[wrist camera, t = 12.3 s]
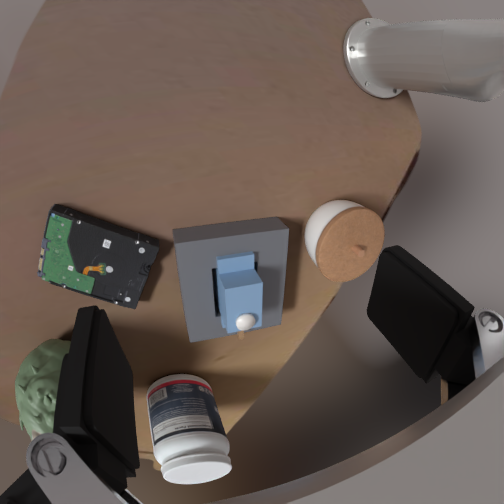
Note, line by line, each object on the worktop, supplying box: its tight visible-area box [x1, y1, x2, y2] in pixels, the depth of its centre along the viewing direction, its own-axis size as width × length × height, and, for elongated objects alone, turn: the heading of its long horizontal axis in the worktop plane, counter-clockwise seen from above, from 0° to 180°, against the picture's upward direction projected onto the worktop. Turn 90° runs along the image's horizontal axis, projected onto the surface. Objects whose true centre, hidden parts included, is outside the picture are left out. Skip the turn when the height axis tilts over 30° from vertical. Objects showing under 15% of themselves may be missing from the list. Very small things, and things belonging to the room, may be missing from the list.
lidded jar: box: [305, 200, 385, 282], centre depth 39 cm, size 11×11×9 cm
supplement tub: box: [146, 374, 232, 484], centre depth 44 cm, size 13×13×18 cm
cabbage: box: [15, 339, 71, 440], centre depth 32 cm, size 16×19×20 cm
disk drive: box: [37, 204, 159, 309], centre depth 34 cm, size 10×3×15 cm
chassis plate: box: [173, 217, 289, 343], centre depth 41 cm, size 14×16×4 cm
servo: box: [212, 251, 263, 340], centre depth 39 cm, size 13×4×9 cm, turn 0°
